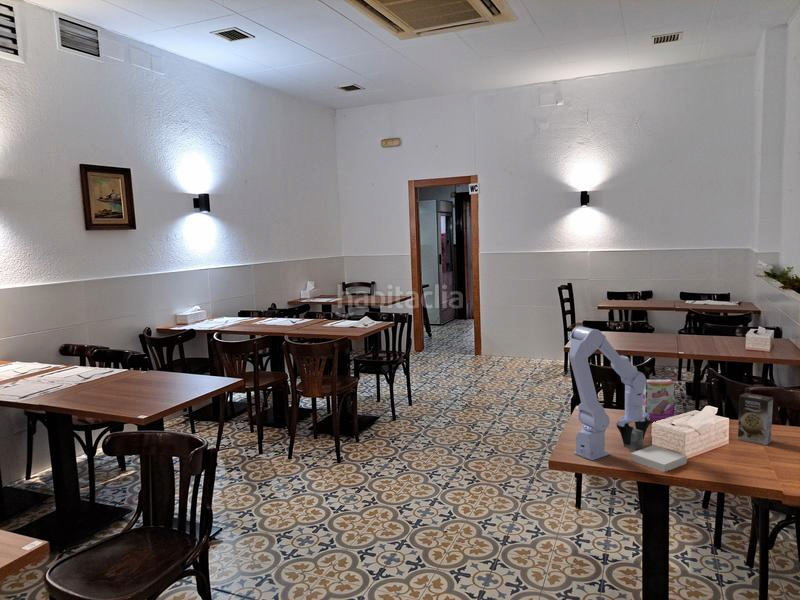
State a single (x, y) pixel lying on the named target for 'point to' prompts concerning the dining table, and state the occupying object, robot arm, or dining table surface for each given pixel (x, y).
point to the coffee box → (755, 418)
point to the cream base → (658, 458)
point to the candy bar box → (659, 399)
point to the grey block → (635, 440)
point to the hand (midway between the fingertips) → (633, 441)
